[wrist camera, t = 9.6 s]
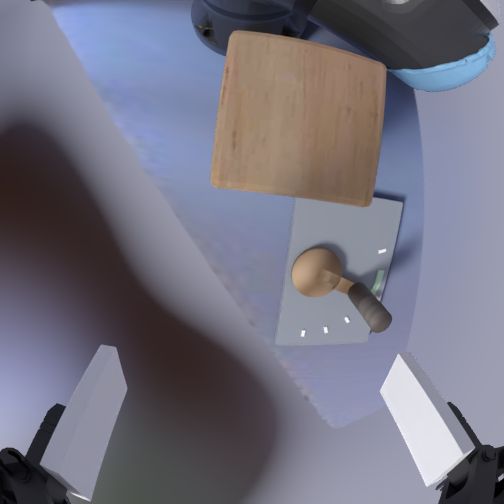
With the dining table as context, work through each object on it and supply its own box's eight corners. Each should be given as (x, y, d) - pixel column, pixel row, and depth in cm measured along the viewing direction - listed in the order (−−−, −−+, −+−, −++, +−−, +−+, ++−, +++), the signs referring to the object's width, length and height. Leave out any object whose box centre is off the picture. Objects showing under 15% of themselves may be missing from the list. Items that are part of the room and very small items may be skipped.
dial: (282, 283, 37) (294, 321, 29) (306, 238, 35) (328, 265, 27) (364, 316, 40) (388, 351, 31) (387, 279, 38) (419, 309, 29)
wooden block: (311, 107, 31) (389, 63, 12) (302, 180, 35) (373, 210, 16) (234, 95, 30) (230, 26, 12) (224, 170, 34) (208, 188, 15)
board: (295, 186, 35) (298, 187, 33) (397, 200, 36) (403, 202, 34) (274, 339, 43) (275, 345, 41) (363, 337, 44) (366, 343, 42)
